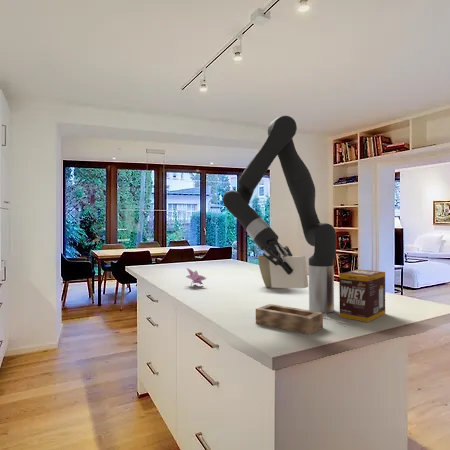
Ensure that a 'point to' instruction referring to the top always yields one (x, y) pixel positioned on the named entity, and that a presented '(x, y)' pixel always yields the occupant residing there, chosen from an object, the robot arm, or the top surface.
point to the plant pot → (265, 270)
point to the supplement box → (362, 294)
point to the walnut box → (290, 318)
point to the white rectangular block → (292, 280)
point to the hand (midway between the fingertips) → (293, 271)
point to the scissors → (333, 319)
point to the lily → (195, 277)
